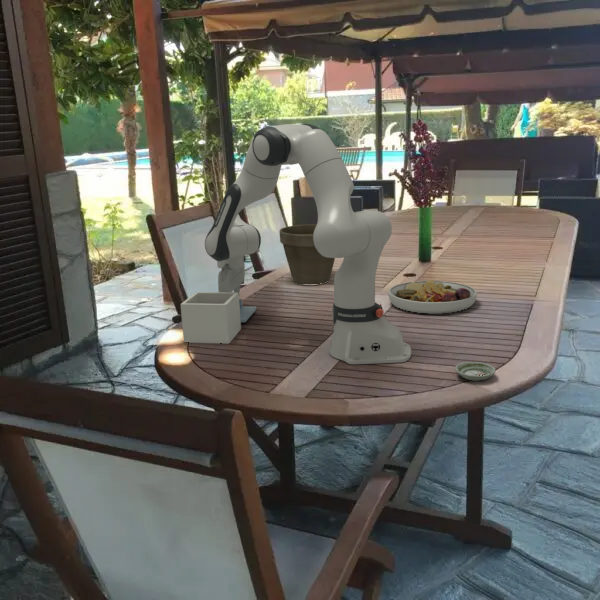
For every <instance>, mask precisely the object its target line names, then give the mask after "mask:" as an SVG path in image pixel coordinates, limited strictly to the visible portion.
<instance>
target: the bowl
mask: <svg viewBox="0 0 600 600" xmlns="http://www.w3.org/2000/svg"><path fill="white" fill-rule="evenodd" d="M387 294H388V295H387V296H388V299H389V301H390V303H391V304H392V305H393V306H394V307H395V308H398V309H399V308H400V309H399V310H402V309H403V311H405V310H406V312H408V311H411V312H410V313H413V312H417V313H416V314H420V313H428V314H427V315H443V314H442V313H449V314H453V313H452V312H455V313H458V312H457V311H459V312H462V311H461V310H463V311H464V309H465V310H467V309H468V308H470V307H472V306H473V305H474V304H475V303H476V301H477V296H478V292H477V290H476V289H475V288H474V287H472V286H470V285H467V284H464V283H459V282H452V281H445V280H432V279H431V280H429V279H428V280H417V281H408V282H402V283H398V284H395V285H393V286H391V287H390V288H389V289H388V292H387Z"/></svg>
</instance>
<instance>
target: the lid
mask: <svg viewBox="0 0 600 600" xmlns="http://www.w3.org/2000/svg"><path fill="white" fill-rule="evenodd" d="M239 304H240V319H241V323H246V322H247V321H248V320H249V319H250V317H252V316H253V314H254V313H255V312H256V310H257V306H246V305H245V306H244V305H243V299H242V298H239Z"/></svg>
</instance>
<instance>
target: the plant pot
mask: <svg viewBox="0 0 600 600" xmlns="http://www.w3.org/2000/svg"><path fill="white" fill-rule="evenodd" d="M316 226H317V224H297V225H291V226H290V225H289V226H285V227H284V226H283V227H282V228H279V232H278V233H279V242H280V243H281V244H282V246H283V247H282V248H283V251H284V255H285V257H286V260H287V261H286V262H287V265H288V268H289V272H290V274H291V277H292V281H293V283H294V284H296V283H297V284H296V285H299V284H320V283H325V282H327V281H330V279H331V276H332V272H333V268H334V264H335V261H336V258H327V257H324V256H322V255H321V254H320V253H319V252H318V251H317V249H316V247H315V245H314V241H313V234H314V230H315V228H316ZM327 283H328V282H327ZM325 284H326V283H325Z"/></svg>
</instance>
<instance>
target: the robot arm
mask: <svg viewBox="0 0 600 600" xmlns="http://www.w3.org/2000/svg"><path fill="white" fill-rule="evenodd" d="M297 164H298V165H299V167H300V168H301V170H302V173H303V175H304V178H305V180H306V182H307V184H308V187H309V189H310V192H311V194H312V196H313V197H312V198H313V199H314V201H315V205H316V210H317V223H316V225H317V226H316V228H315V230H314V234H313V241H314V245H315V247H316V249H317V251H318V252H319V253H320V254H321V255H322V256H324V257H327V258H335V259H343V260H342V262H341V265H340V267H339V268H338V269H337V271H336V272H335V274H334V277H333V295H334V297H333V298H334V301H333V302H334V303H333V305H332V323H333V335H332V340H331V341H332V342H331V346H330V350H329V355H331V357H332V358H334V359H337V360H341V361H344V363H347V364H349V365H372V364H373V365H374V364H389V363H390V364H395V363H405V362H407V361H409V360H410V358H411V357H412V348H411V346H410V345H409V344H408V343H406V342H404V338H403V335H402V331H401V329H399V327H398V326H397V325H395V324H394V323H392V322H391V321H389V320H388V319H387V318H385V317H384V309H383V305H382V303H377V302H376V277H377V276H376V274H377V270H378V265H379V262H380V259H381V255H382V252H383V250H384V248H385V245H386V244H387V242H388V241H389V240H390V239H391V235H392V229H393V228H392V224H391V223H392V222H391V220H390V218H389V217H388V215H386V214H385V213H383V212H382V211H378V210H373V209H364V210H360V211H359V210H358V211H354V210H353V208H352V202H351V195H352V194H353V192H354V189H355V186H354V181H353V179H352V177H351V175H350V173H349V171H348V168H347V166H346V164H345V162H344V160H343V158H342V156H341V154H340V151H338V148H337V147H336V145H335V144H334V142H333V140H332V139H331V137H330V136H329V135H328V133H326V131H324V130H322V129H320V128H319V127H318V126H317V125H314V124H309V123H302V124H298V123H297V124H294V123H291V124H289V123H286V124H284V123H283V124H278V125H274V126H270V125H269V126H265V127H264V128H261V129H259V130H257V131H256V133H255V134H254V136H253V138H252V140H251V142H250V145H249V147H248V149H247V152H246V154H245V158H244V162H243V166H242V167H241V171H240V174H239V175H238V176H237V178H236V180H235V181H234V182H233V183H232V184H231V185H230V186H228V189H227V190H226V192H225V194H224V196H223V199H222V201H221V204H220V206H219V209H218V212H217V214H216V216H215V219H214V222H213V224H212V226H211V228H210V229H209V231H208V232H207V235H206V237H205V240H204V248H205V252H206V254H207V255H208V256H209V257H211V258H212V259H213V260H214V261H216V264H217V265H216V266H217V268H218V269H221V270H220V271H219V272H218V275H217V284H218V285H217V287H218V288H217V289H218V291H217V292H238V293H239V297H240V295H241V294H240V291H241V285H242V283H243V282H244V280H245V278H246V277H245V275H246V272H245V271H246V269H245V268H246V266H245V262H247V260H246V259H247V258H246V256H247V255H252V254H255V253H257V252H258V251H259V249H260V248H261V244H262V243H261V242H262V239H261V238H262V237H261V233H260V231H259V230H258V228H256V227H255V226H254V225H250V224H248V223H246V222H245V221H244V220H243V219H242V218H241V217H240V214H239V213H240V212H241V211H242V210H243V209H244V208H246V207H248V206H250V205H251V204H253V203H255V202H258V201H261V200H263V199H266V197H269V196H270V195H271V194H272V193H273V191H274V190H275V188H276V187H277V184H278V182H279V177H280V172H281V169H282V166H286V165H287V166H289V165H290V166H292V165H293V166H294V165H297Z"/></svg>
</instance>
